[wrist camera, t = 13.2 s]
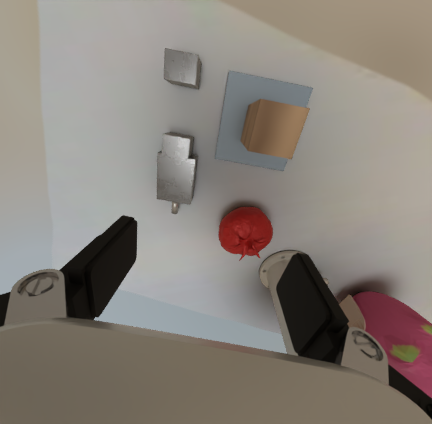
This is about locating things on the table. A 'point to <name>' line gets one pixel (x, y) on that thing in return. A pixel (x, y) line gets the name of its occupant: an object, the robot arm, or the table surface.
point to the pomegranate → (245, 231)
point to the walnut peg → (273, 128)
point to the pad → (237, 108)
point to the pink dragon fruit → (395, 334)
